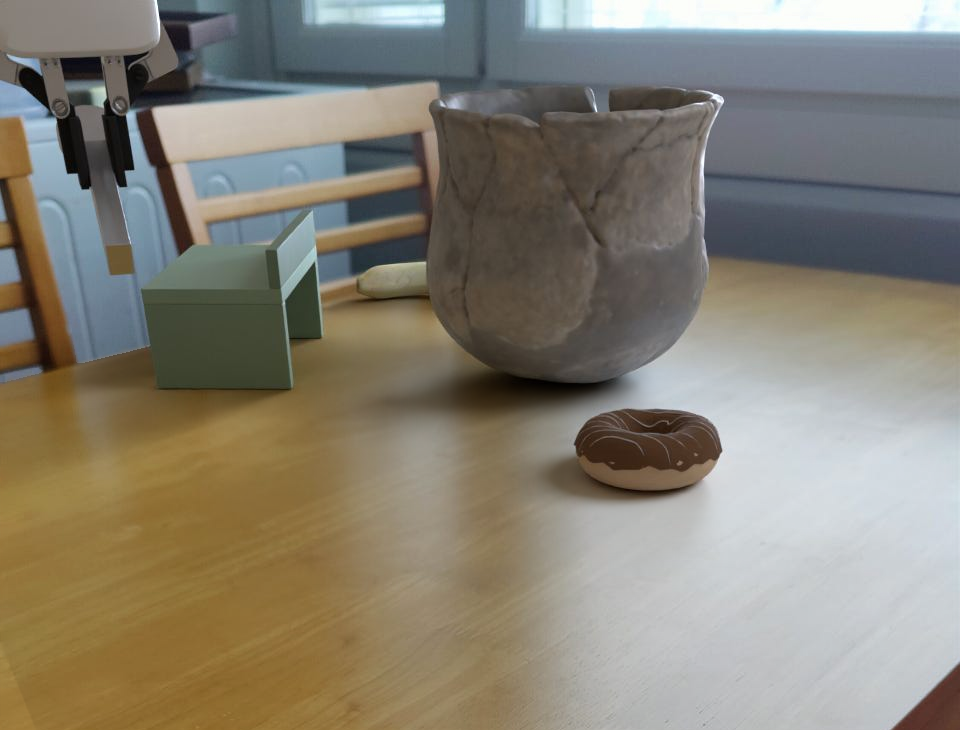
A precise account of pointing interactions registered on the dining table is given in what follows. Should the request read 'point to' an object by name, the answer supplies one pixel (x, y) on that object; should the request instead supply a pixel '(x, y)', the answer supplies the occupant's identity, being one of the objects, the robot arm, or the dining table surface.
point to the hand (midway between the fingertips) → (102, 183)
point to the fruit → (393, 280)
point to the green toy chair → (235, 312)
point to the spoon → (105, 192)
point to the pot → (569, 226)
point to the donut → (648, 448)
